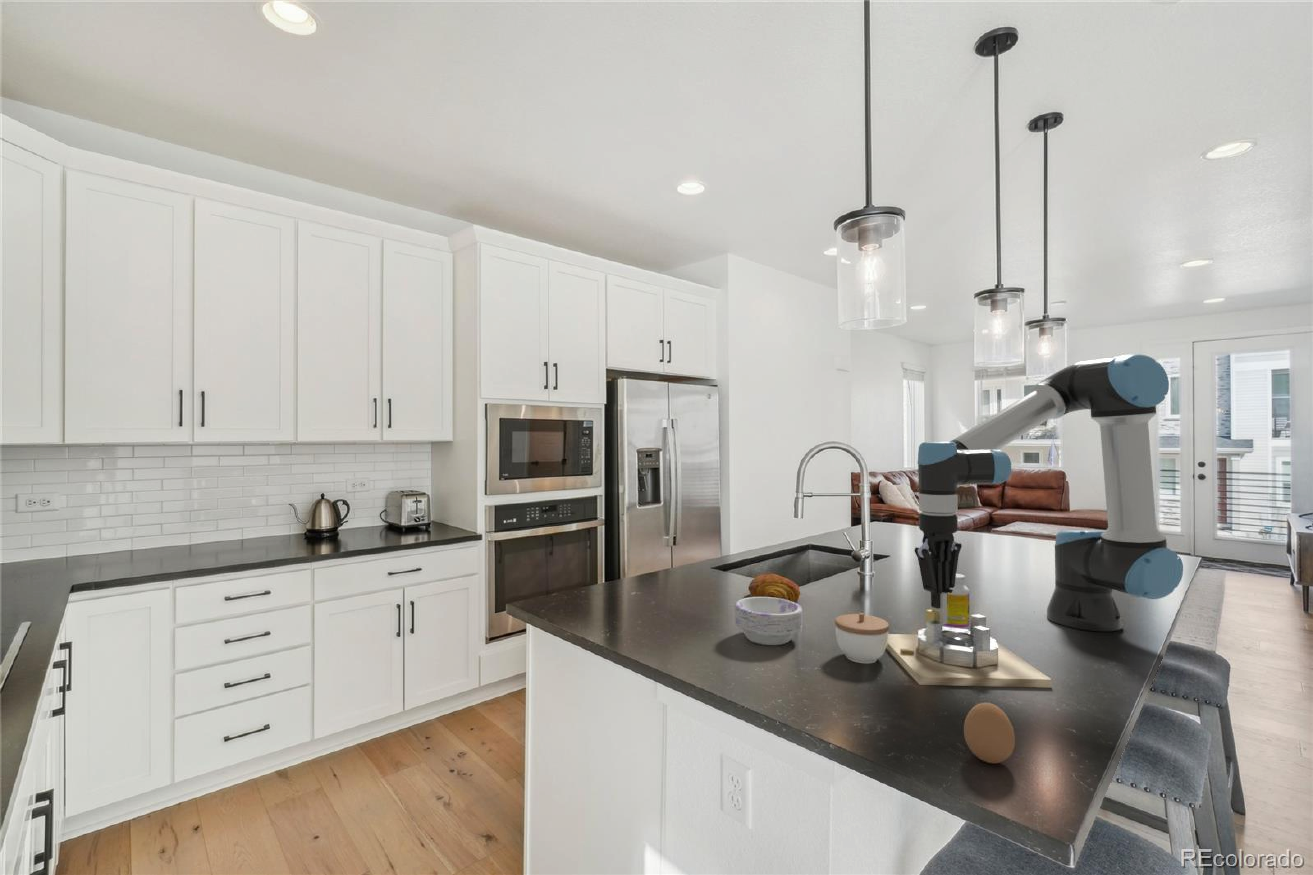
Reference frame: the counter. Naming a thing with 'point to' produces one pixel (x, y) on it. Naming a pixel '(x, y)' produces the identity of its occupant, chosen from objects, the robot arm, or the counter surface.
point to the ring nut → (976, 656)
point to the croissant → (774, 587)
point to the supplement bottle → (958, 605)
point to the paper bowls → (768, 619)
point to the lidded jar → (862, 637)
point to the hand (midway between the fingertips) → (939, 622)
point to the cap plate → (964, 668)
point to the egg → (989, 733)
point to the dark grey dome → (957, 639)
